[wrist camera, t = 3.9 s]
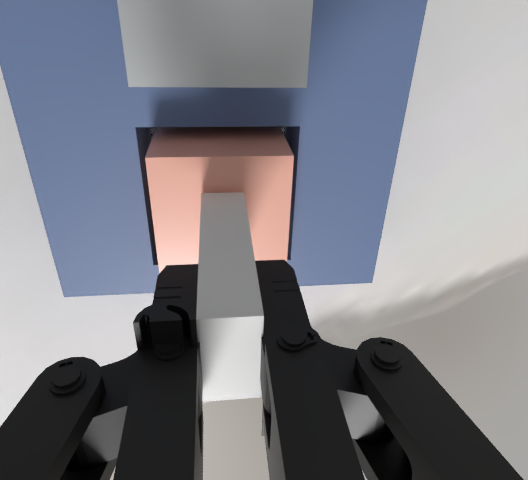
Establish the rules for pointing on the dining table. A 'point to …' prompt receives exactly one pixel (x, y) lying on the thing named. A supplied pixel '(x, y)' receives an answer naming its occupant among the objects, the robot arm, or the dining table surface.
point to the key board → (205, 115)
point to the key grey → (216, 43)
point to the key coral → (218, 186)
